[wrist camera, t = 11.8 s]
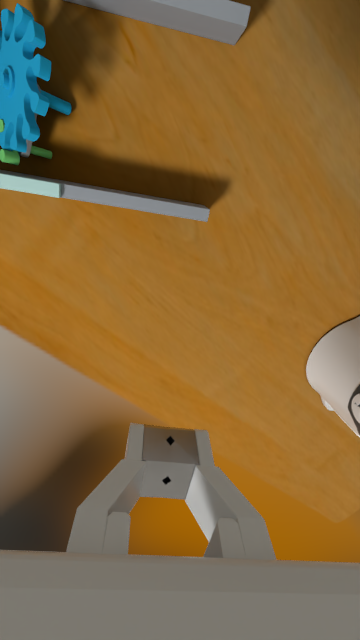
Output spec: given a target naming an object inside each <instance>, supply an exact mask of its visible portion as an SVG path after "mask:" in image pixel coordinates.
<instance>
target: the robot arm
mask: <svg viewBox="0 0 360 640" xmlns="http://www.w3.org/2000/svg"><path fill="white" fill-rule="evenodd" d="M306 374H307V379H308V381H309V383H310V385H311V386H312V387H313V389H315V390H316V391H317V392H318V393H319V394H320V395H321V399H322V402H323V404H324V406H325V407H326V408H327V409H328V410H330V411H335V412H336V413H337V414H338V415H339V416H340V417H341V419H342V420H343V421H344V422H345V423H346V424H347V425H348V426H349V427H350V428H351V429H352V430H353V431H354V432H355V433H356V434H357V435H358V436H359V437H360V316H359V317H357V318H355V319H353V320H351V321H348V322H346V323H344V324H342V325H340V326H338V327H336V328H334V329H333V330H331V331H330V332H329V333H327V334H326V335H325V336H324V337H323V338H322V339H321V340H320V341H319V342H318V343H317V345H316V346H315V347H314V349H313V350H312V352H311V354H310V356H309V359H308V362H307V367H306ZM139 497H163V498H174V499H175V498H176V499H185V501H186V503H187V505H188V506H189V508H190V510H191V512H192V513H193V515H194V517H195V519H196V520H197V522H198V524H199V525H200V527H201V529H202V531H203V532H204V534H205V536H206V538H207V539H208V541H209V544H208V547H207V549H206V552H205V554H204V557H180V556H151V555H128V543H129V530H130V516H129V515H128V514H129V513H130V511H131V510H132V508H133V506H134V505H135V503H136V502H137V500H138V499H139ZM0 640H360V563H348V562H320V561H318V562H317V561H291V560H276V557H275V554H274V550H273V547H272V544H271V541H270V537H269V534H268V531H267V527H266V524H265V521H264V519H263V517H262V516H261V515H260V514H259V513H258V512H257V511H256V509H255V508H254V507H253V506H252V505H251V504H250V503H249V501H248V500H247V499H246V498H245V497H244V496H243V494H242V493H241V492H240V491H239V490H238V489H237V488H236V486H235V485H234V484H233V483H232V482H231V481H230V480H229V478H228V477H227V476H226V475H225V474H224V473H223V472H222V471H221V469H220V468H219V467H215V465H214V461H213V455H212V450H211V445H210V440H209V435H208V432H207V430H196V429H194V430H193V429H185V428H173V427H161V426H154V425H145V424H144V425H143V424H135V423H131V424H130V429H129V435H128V441H127V447H126V454H125V459H122V460H121V461H120V462H119V463H118V464H117V465H116V466H115V468H114V469H113V470H112V471H111V472H110V473H109V474H108V475H107V476H106V477H105V478H104V480H103V481H102V482H101V483H100V484H99V485H98V486H97V487H96V488H95V490H94V491H93V492H92V493H91V494H90V495H89V496H88V497H87V498H86V499H85V500H84V502H83V503H82V504H81V505H80V506H79V507H78V508H77V511H76V515H75V519H74V523H73V527H72V531H71V535H70V539H69V543H68V547H67V551H66V552H43V551H42V552H41V551H13V550H0Z"/></svg>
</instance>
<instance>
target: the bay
mask: <svg viewBox="0 0 360 640" xmlns="http://www.w3.org/2000/svg"><path fill="white" fill-rule="evenodd" d="M64 1H68V2H71V3H75V4H79V5H83V6H87V7H91V8H94V9H98V10H102V11H106V12H110V13H113V14H117V15H121V16H125V17H129V18H132V19H136V20H140V21H144V22H148V23H152V24H155V25H159V26H163V27H167V28H171V29H174V30H178V31H182V32H186V33H190V34H193V35H197V36H201V37H205V38H209V39H212V40H216V41H220V42H224V43H228V44H232V45H235V44H236V42H237V41H238V39H239V37H240V36H241V34H242V33H243V31H244V30H245V28H246V27H247V22H248V17H249V13H250V8H251V7H250V6H247V5H243V4H240V3H236V2H233V1H229V0H64ZM0 188H3V189H9V190H15V191H21V192H27V193H33V194H39V195H45V196H51V197H57V198H60V197H62V198H68V199H74V200H80V201H86V202H92V203H98V204H104V205H110V206H116V207H122V208H128V209H134V210H140V211H146V212H152V213H158V214H164V215H170V216H176V217H182V218H188V219H194V220H200V221H206V222H207V221H208V216H209V211H210V209H208V208H207V207H206V206H204V205H200V204H194V203H188V202H182V201H177V200H171V199H165V198H160V197H154V196H148V195H143V194H137V193H131V192H125V191H120V190H114V189H108V188H103V187H97V186H91V185H85V184H80V183H74V182H68V181H63V180H57V179H51V178H46V177H40V176H34V175H28V174H23V173H17V172H11V171H6V170H0Z"/></svg>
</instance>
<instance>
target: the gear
mask: <svg viewBox="0 0 360 640" xmlns="http://www.w3.org/2000/svg"><path fill="white" fill-rule="evenodd" d="M1 23H2V31H1V30H0V146H1V147H2V149H1V150H0V160H1V161H2V162H6V163H10V164H14V165H19V162H20V156H22V157H26V158H27V157H29V155H30V154H34V155H37V156H41V157H44V158H48V159H51V158H52V152H51V151H49V150H46V149H42V148H39V147H36V146H32V141H33V142H34V141H36V140H37V139H38V138H39V137H40V130H39V127H38V125H37V123H36V119H37V114H39V115H42V116H45V115H46V113H47V111H48V107H50V108H52V109H54V110H57V111H59V112H61V113H64V114H66V115H69V114H70V113H71V104H70V103H69V102H66V101H64V100H62V99H60V98H58V97H56V96H53V95H51V94H49V93H47V92H45V91H43V90H41V89H40V86H39V85H38V84H37V77H39V78H41V79H43V80H45V81H49V80H50V75H51V61H50V60H48V59H46V58H45V57H43V56H41V55H39V54H37V55H36V56H35V57H34V58H33V53H34V50H35V48H36V47H39V48H40V49H42V48H43V47H44V46H45V43H46V38H45V31H44V27H43V26H41V25H40V24H38V23H37V22H35V21H34V18H33V15H32V14H31V12H30V11H29V10H27V9H26V8H24V7H22V6H21V5H19V4H18V3H17V5H16V8H15V14H14V13H12V12H11V11H9V10H8V9H3V10H2V12H1ZM4 149H6V150H4ZM8 150H9V151H8Z"/></svg>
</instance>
